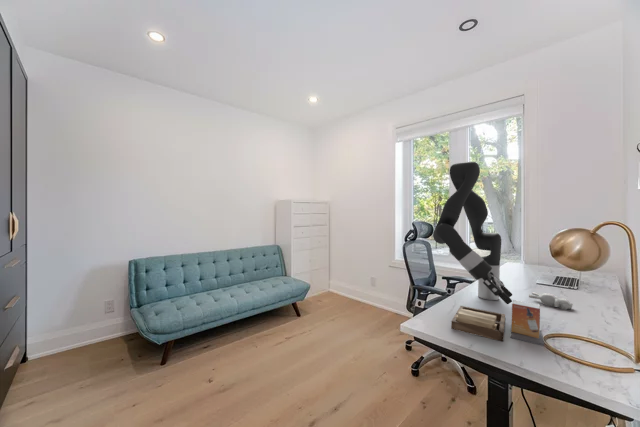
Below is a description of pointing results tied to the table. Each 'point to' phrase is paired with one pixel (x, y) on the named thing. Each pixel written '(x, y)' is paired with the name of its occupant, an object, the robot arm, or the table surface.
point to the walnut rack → (480, 330)
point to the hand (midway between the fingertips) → (510, 299)
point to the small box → (526, 318)
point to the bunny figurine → (552, 300)
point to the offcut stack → (477, 318)
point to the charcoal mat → (528, 338)
